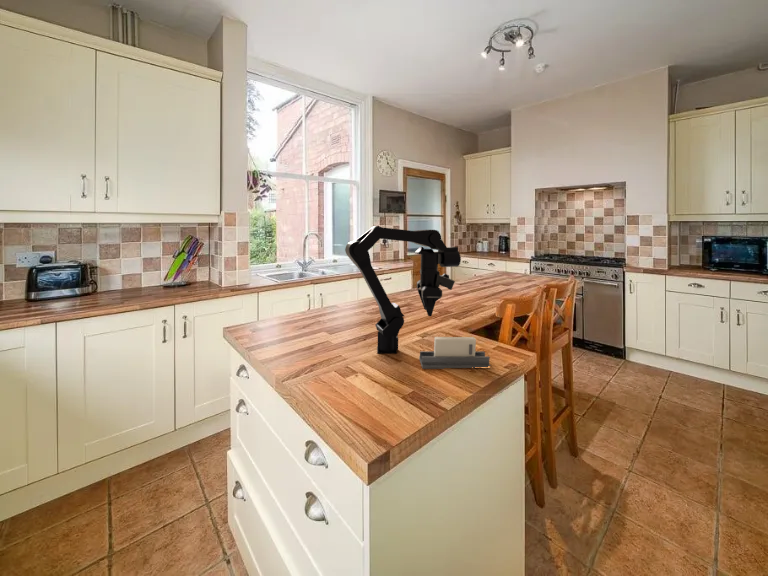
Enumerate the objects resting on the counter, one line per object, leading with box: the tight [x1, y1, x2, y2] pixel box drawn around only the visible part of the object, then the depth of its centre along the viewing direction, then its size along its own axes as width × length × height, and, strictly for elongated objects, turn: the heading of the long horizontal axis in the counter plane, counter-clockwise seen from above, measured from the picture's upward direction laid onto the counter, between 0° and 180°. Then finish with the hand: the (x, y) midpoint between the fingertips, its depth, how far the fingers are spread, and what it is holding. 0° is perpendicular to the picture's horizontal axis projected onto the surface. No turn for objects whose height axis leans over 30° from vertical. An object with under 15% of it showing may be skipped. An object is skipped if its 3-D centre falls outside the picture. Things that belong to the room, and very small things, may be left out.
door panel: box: [433, 336, 477, 356], centre depth 107 cm, size 12×3×7 cm, turn 91°
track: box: [419, 350, 492, 370], centre depth 108 cm, size 20×8×3 cm, turn 91°
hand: (427, 312), depth 122 cm, fingers open, 9 cm apart
